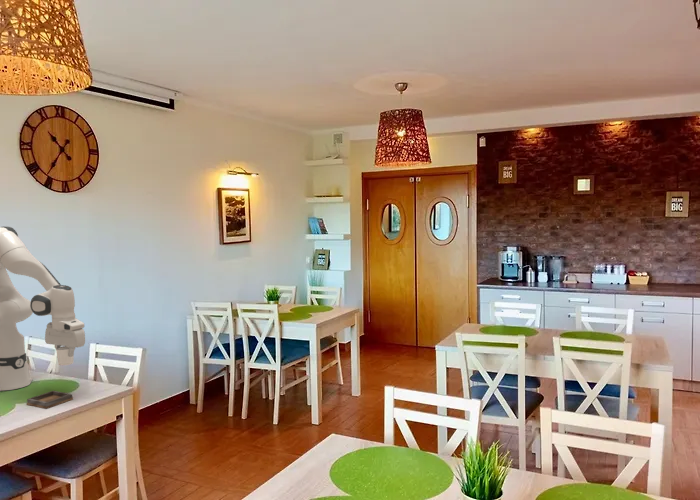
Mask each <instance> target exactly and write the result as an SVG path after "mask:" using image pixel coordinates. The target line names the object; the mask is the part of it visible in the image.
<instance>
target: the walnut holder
mask: <svg viewBox="0 0 700 500" xmlns="http://www.w3.org/2000/svg"><path fill="white" fill-rule="evenodd" d="M72 400H74V397H73V394H71V393H68V392H61V391H57V390H50V391H47V392H45V393H41V394H39V395H36V396H32V397H30V398H27V399H26V401H27V402H26V406H29V407H35V408H40V409H45V410H47V409H51V408H53V407H56V406H58V405H61V404H64V403H66V402H69V401H72Z"/></svg>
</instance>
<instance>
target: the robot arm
mask: <svg viewBox="0 0 700 500" xmlns="http://www.w3.org/2000/svg"><path fill="white" fill-rule="evenodd" d="M8 272H10V273H11V274H14V275H18V276H20V275H21V276H24V277H25V276H26V277H29V278H32V279H34V280H36V281H38V283H39V284H40V285H41V286H42V287H43V288H44V290H45V291H43V292H40V293H38V294H35V295H34V296H33V297H32V298H31V300H30V299H29V298H26V297H24V296H23V295H22V294H21V293H20V292H19V291H18V289H17V288H16V287H15V285H14V284H13V282H12V280H11V278H10V276H9V273H8ZM75 303H76V302H75V293H74V291H73V288H72V287H71V286H69V285H64V284H61V283H60V282H59V281H58V280H57V278H56V277H55V275H54V274H53V273H52V272H51V271H50V270H49V269H48V267H47V266H46V265H45V264H44V263H43V262H41V261H39V260H38V259H37V258H36V257H35V256H34V255H33V254H32V253H31V252H30V250H28V247H26V244H25V243H24V242H23V241H22V239H21V238H20V237H19V234H18V232H17V230H16V229H14V228H13V227H11V226H1V227H0V392H1V391H11V390H12V391H13V390H17V389H20V388H24V387H27V386H29V385H30V384H31V383H32V382H33V381H34V378H33V377H31V372H30V371H31V370H30V366H29V363H27V358H28V356H27V353H26V350H25V349H26V348H25V347H26V345H25V336H24V335H23V334H22V333H20V331H19V330H18V327H17V323H20V322H23V321H25V320H27V319H28V318H29V317H31V316H32V315H33V314H34V315H35V316H37V317H38V316H39V317H45V316H49V315H50V316H51V321H50V322H48V323H47V325H46V328H45V334H44V342H45V344H48V345H54V348H55V350H56V348H58V347H63V346H69V349H70V350H69V353H68V356H69V357H72V356H74V355H75V350H76V348H81V347H84V346H85V344H86V333H85V329H84V328H85V323H84V322H83V321H81V320H79V319H78V318H76V314H75V306H76V304H75Z"/></svg>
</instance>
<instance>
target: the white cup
mask: <svg viewBox="0 0 700 500" xmlns="http://www.w3.org/2000/svg"><path fill="white" fill-rule="evenodd" d="M69 350H70V349H69V346H60V347H58V348H56V349H55V351H56V356H57V357H56V358H57V363H58V366H69V365H72V364H74V358H75V357H74V356H72V357H69V356H68V353H69Z"/></svg>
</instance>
